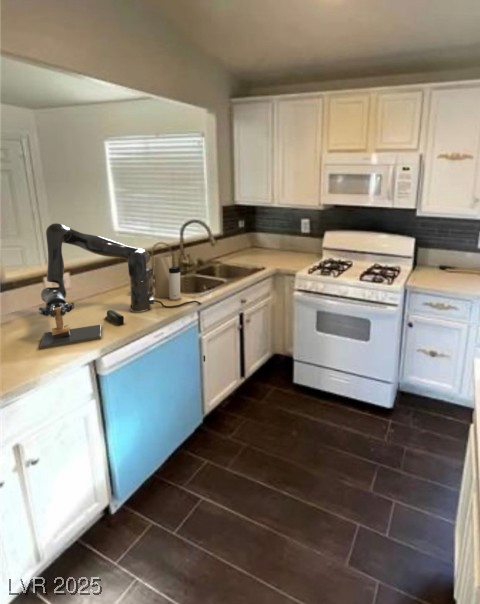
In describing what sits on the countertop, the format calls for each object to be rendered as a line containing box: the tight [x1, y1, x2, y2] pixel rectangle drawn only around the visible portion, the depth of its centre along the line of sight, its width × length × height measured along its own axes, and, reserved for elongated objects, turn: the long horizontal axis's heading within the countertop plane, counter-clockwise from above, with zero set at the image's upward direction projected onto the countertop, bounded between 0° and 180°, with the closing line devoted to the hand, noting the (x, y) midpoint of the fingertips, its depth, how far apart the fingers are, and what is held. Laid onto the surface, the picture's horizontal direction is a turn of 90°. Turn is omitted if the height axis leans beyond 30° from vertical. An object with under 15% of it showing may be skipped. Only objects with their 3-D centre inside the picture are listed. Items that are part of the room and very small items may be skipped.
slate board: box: [39, 324, 102, 350], centre depth 160 cm, size 22×14×2 cm, turn 119°
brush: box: [51, 307, 71, 339], centre depth 157 cm, size 6×4×13 cm
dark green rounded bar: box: [104, 309, 125, 326], centre depth 179 cm, size 5×3×15 cm
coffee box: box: [146, 267, 154, 296], centre depth 219 cm, size 9×6×16 cm
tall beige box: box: [153, 253, 173, 299], centre depth 219 cm, size 10×10×25 cm
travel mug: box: [168, 266, 181, 301], centre depth 213 cm, size 6×7×20 cm
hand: (58, 314), depth 154 cm, fingers closed on brush, 2 cm apart
